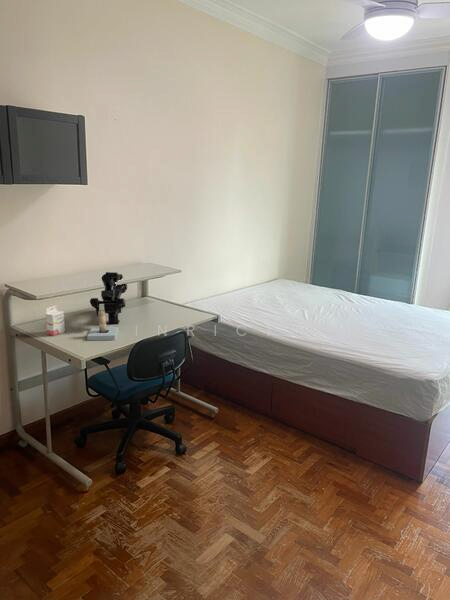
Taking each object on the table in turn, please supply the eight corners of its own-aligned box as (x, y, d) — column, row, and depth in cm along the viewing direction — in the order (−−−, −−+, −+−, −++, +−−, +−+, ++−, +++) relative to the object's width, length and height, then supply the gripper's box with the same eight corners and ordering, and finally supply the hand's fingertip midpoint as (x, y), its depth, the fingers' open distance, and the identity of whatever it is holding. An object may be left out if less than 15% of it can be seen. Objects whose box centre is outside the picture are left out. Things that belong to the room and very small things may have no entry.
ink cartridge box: (54, 336, 236) (51, 309, 233) (46, 334, 238) (44, 308, 235) (65, 331, 244) (63, 305, 240) (58, 330, 246) (56, 304, 242)
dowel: (99, 334, 238) (97, 311, 236) (105, 333, 240) (104, 311, 237) (101, 336, 235) (99, 313, 233) (107, 335, 237) (106, 312, 234)
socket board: (92, 332, 244) (92, 327, 243) (118, 331, 245) (118, 327, 245) (87, 340, 231) (87, 335, 230) (114, 340, 232) (114, 335, 231)
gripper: (89, 283, 244) (85, 308, 236) (123, 284, 244) (120, 309, 236) (94, 294, 253) (90, 318, 246) (127, 294, 254) (124, 318, 246)
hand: (105, 316), depth 243 cm, fingers open, 9 cm apart
